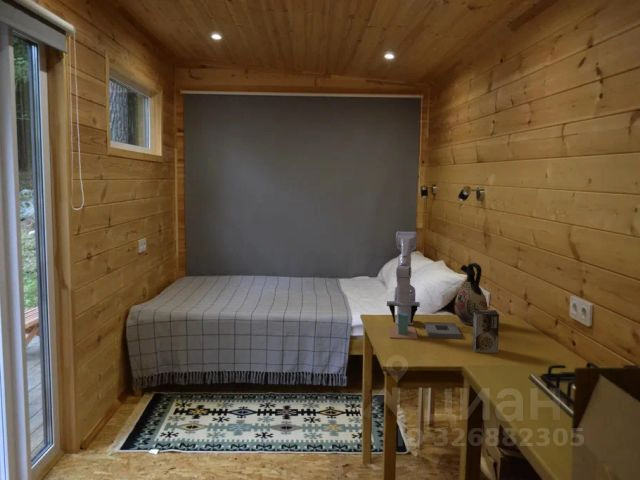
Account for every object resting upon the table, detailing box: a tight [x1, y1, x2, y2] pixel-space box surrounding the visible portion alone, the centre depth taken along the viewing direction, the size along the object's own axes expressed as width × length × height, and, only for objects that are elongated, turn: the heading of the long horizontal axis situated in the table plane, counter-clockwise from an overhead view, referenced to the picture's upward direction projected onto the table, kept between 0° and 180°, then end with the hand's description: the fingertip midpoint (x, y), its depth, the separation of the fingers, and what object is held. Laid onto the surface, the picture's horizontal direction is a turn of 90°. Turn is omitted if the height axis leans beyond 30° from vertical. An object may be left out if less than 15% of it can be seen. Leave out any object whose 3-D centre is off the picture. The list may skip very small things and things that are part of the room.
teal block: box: [397, 313, 409, 334], centre depth 238 cm, size 6×4×8 cm, turn 175°
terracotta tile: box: [388, 326, 418, 340], centre depth 239 cm, size 16×12×1 cm
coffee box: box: [472, 309, 500, 354], centre depth 215 cm, size 9×6×16 cm
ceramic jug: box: [454, 262, 489, 326], centre depth 254 cm, size 17×15×30 cm
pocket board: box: [424, 321, 462, 339], centre depth 241 cm, size 18×14×2 cm
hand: (402, 322), depth 238 cm, fingers open, 7 cm apart
